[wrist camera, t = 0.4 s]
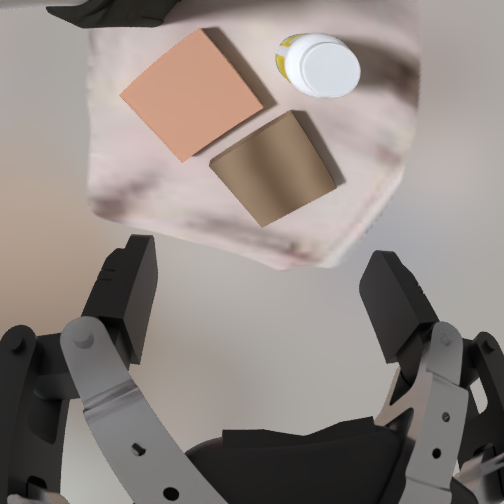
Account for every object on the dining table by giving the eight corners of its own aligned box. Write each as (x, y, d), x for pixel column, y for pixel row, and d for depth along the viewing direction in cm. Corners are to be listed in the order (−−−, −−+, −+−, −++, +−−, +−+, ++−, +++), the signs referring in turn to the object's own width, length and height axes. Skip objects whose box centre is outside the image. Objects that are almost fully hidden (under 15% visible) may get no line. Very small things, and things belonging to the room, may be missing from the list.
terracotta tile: (201, 28, 20) (199, 27, 19) (262, 104, 26) (263, 108, 24) (124, 92, 23) (119, 95, 22) (184, 157, 29) (182, 162, 28)
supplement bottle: (316, 92, 25) (348, 120, 17) (266, 71, 23) (276, 88, 16) (339, 48, 21) (382, 58, 14) (288, 24, 20) (310, 18, 13)
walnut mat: (290, 110, 26) (292, 113, 25) (333, 181, 32) (337, 188, 31) (210, 160, 30) (208, 165, 29) (261, 220, 35) (262, 227, 34)
